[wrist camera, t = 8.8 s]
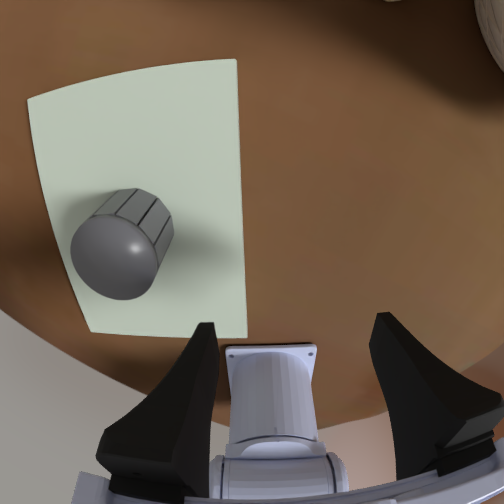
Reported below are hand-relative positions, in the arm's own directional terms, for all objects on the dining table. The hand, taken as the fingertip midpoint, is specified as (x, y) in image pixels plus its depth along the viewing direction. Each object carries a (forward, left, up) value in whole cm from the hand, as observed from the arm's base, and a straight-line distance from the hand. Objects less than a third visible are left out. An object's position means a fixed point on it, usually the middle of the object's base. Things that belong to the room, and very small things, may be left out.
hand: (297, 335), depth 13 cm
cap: (+2, +10, -8) cm, 13 cm away
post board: (+2, +10, -9) cm, 14 cm away
